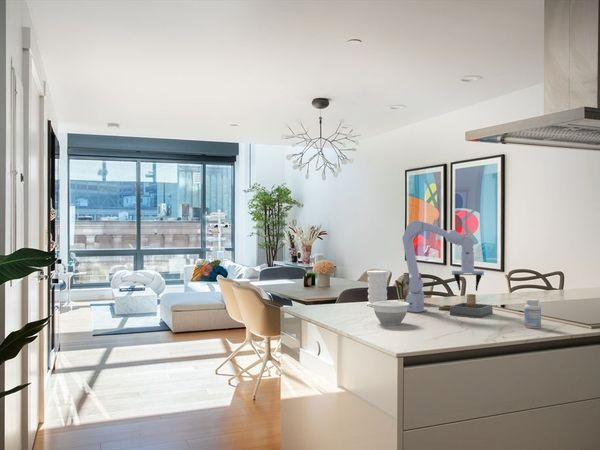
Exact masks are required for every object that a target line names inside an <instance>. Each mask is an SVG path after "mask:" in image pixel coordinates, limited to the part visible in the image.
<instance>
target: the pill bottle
mask: <svg viewBox="0 0 600 450" xmlns="http://www.w3.org/2000/svg"><path fill="white" fill-rule="evenodd" d="M525 303H526V304H525V305H524V308H523V309H524V313H523V314H524V316H523V317H524V327H525V328H527V329H533V330H534V329H541V328H542V309H541V308H542V307H541V306H540V305H539V303H540V301H539V299H538V298H526V299H525Z"/></svg>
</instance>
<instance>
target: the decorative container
mask: <svg viewBox="0 0 600 450" xmlns="http://www.w3.org/2000/svg"><path fill="white" fill-rule="evenodd" d="M388 273H389V271H388V270H367V271H366V275H367V287H368V289H367V293H368V295H367V299H368V302H366V306H367V305H368V306H367V307H369V306H373V305H372V303H373V302H379V301H388V295H387V293H388V289H387V287H388V284H387V281H388V277H387V275H389V274H388Z"/></svg>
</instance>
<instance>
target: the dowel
mask: <svg viewBox="0 0 600 450" xmlns="http://www.w3.org/2000/svg"><path fill="white" fill-rule="evenodd" d="M476 299H477V297H476V294H473V293H469V294H468V293H467V294H466V303H467V307H469V308H476V304H477V303H476V301H477V300H476Z"/></svg>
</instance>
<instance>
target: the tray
mask: <svg viewBox="0 0 600 450" xmlns="http://www.w3.org/2000/svg"><path fill="white" fill-rule="evenodd" d="M493 313H494V312H493V304H485V303H476V308H469V307H467V302H460V303H456V304H453V305H451V306H450V311H449V316H459V317H468V318H469V317H470V318H479V319H480V318H484V317H486V316H489V315H493Z"/></svg>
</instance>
